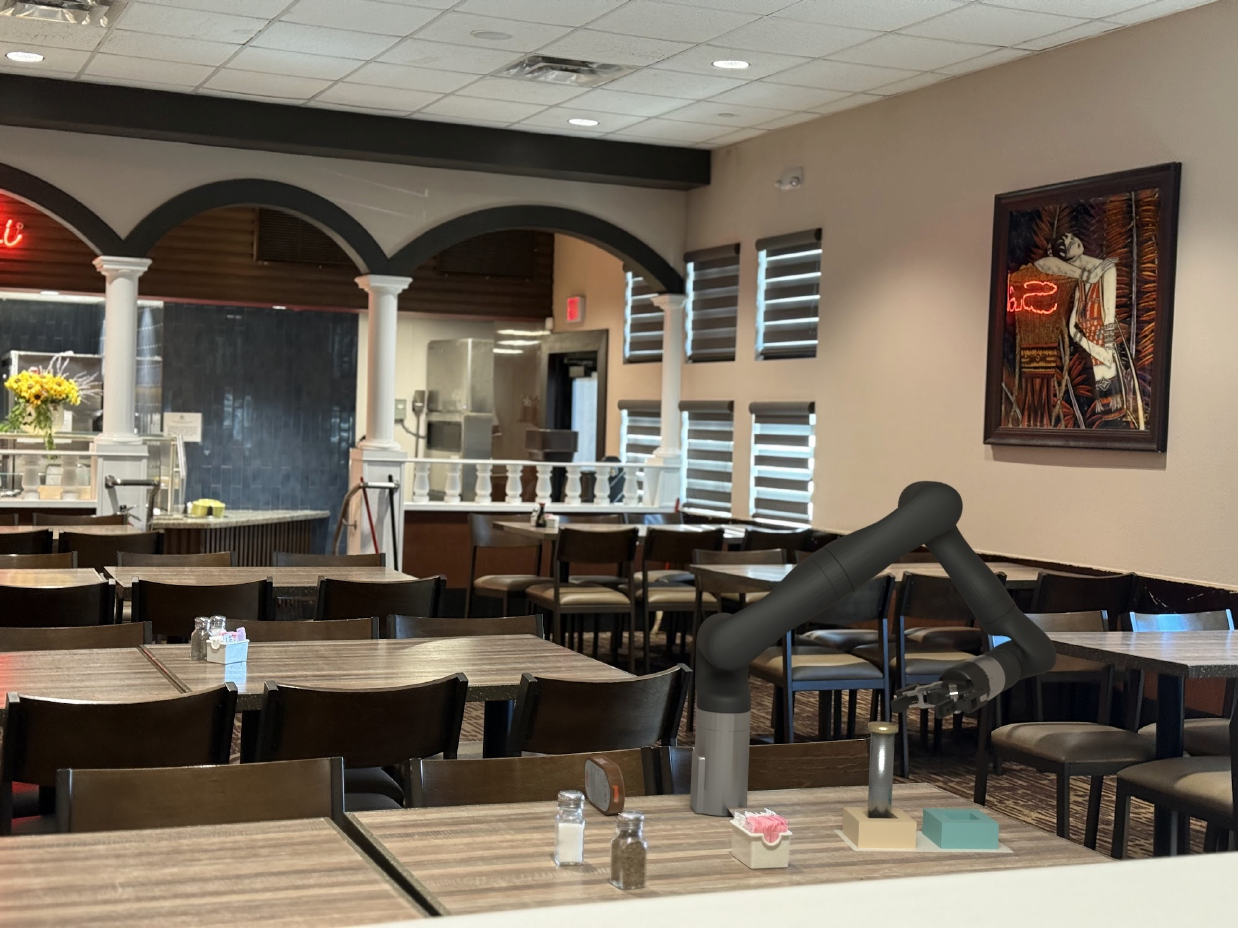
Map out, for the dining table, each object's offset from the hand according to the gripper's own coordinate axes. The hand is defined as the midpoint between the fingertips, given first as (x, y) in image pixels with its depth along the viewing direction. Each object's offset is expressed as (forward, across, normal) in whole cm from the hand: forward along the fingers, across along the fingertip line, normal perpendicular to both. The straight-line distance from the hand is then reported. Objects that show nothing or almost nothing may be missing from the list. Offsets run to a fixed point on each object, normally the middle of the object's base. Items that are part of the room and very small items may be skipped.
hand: (914, 710), depth 230 cm
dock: (+7, +3, +20) cm, 22 cm away
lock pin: (+12, -1, +17) cm, 21 cm away
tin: (+31, -44, +12) cm, 55 cm away
